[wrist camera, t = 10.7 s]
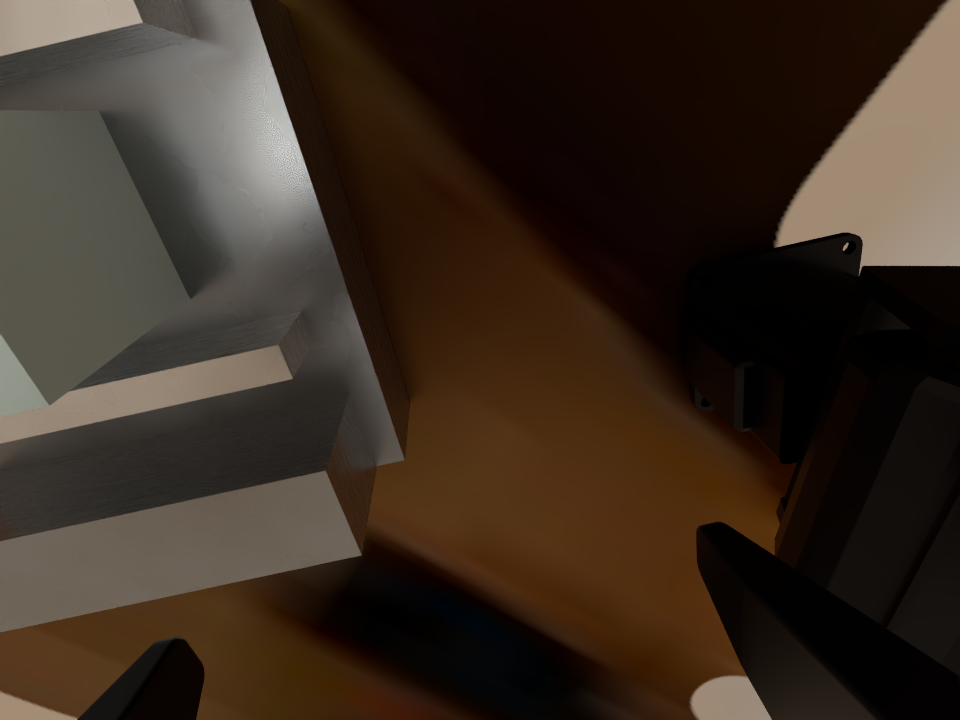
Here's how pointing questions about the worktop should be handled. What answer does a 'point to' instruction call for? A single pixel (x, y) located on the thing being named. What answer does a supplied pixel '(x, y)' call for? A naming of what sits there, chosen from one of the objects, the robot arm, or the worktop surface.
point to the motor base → (201, 322)
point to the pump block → (71, 256)
